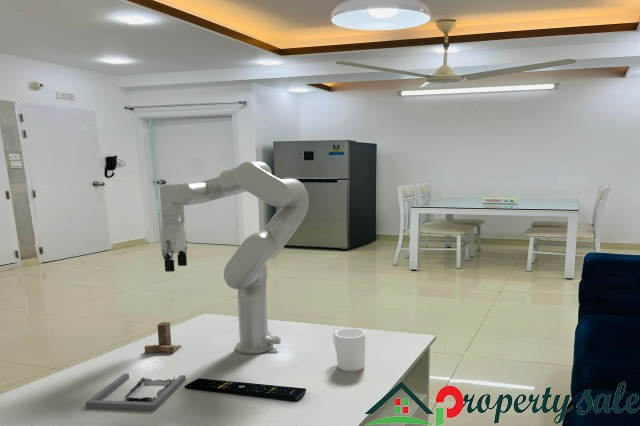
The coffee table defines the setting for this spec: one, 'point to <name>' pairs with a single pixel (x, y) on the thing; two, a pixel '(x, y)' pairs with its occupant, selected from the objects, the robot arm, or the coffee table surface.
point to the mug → (350, 349)
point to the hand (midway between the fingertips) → (176, 268)
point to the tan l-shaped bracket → (163, 341)
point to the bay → (131, 405)
